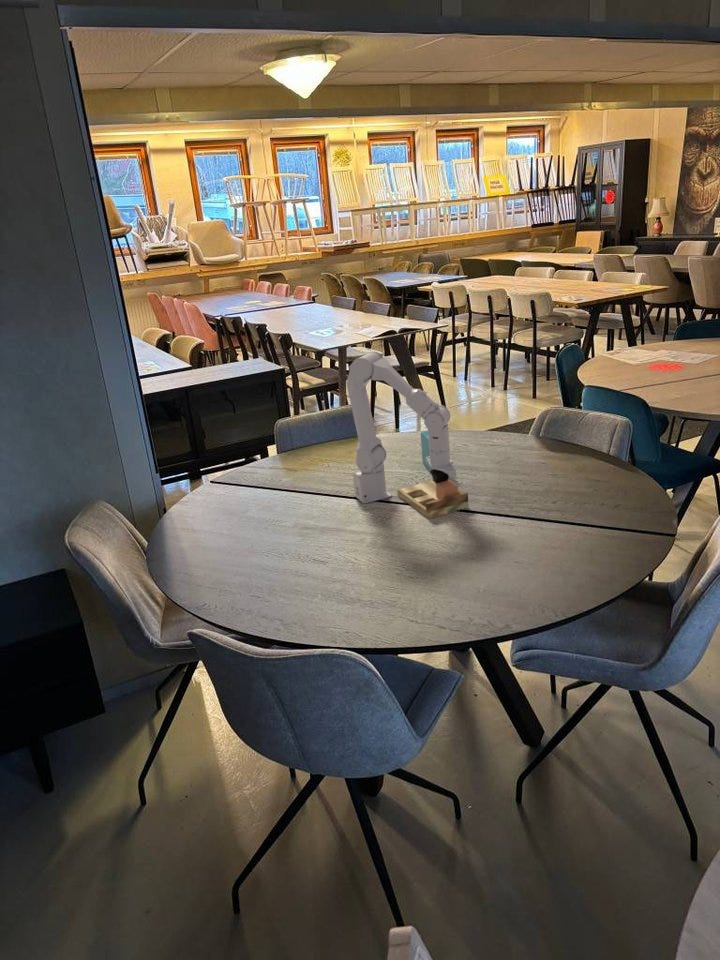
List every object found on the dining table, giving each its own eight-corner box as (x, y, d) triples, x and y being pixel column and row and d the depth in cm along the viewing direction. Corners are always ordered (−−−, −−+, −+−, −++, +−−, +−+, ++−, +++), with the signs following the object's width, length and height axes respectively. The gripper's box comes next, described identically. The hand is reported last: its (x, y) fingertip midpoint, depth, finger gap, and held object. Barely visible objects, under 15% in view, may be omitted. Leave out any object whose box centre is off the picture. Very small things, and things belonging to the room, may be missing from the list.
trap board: (428, 518, 189) (427, 504, 188) (397, 495, 207) (396, 482, 205) (468, 507, 193) (467, 493, 192) (435, 486, 211) (434, 472, 209)
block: (444, 503, 193) (444, 489, 191) (436, 497, 197) (436, 483, 195) (457, 499, 195) (457, 485, 193) (449, 493, 198) (449, 479, 196)
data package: (445, 473, 220) (443, 438, 216) (432, 475, 220) (430, 440, 215) (435, 461, 231) (433, 428, 227) (422, 463, 231) (420, 430, 226)
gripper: (464, 452, 188) (466, 497, 193) (439, 439, 200) (441, 481, 205) (442, 458, 185) (445, 503, 190) (418, 444, 198) (421, 487, 203)
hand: (441, 492), depth 198 cm, fingers closed, pressing on block
